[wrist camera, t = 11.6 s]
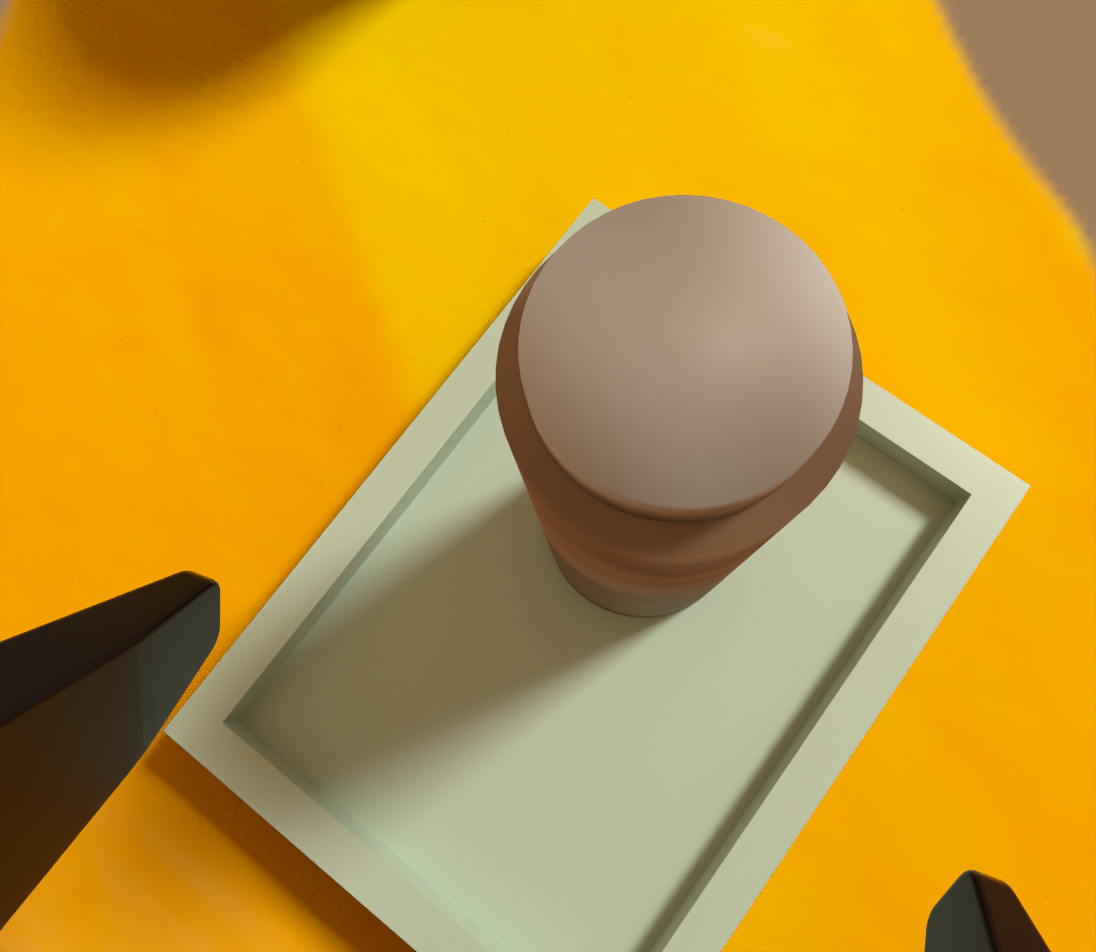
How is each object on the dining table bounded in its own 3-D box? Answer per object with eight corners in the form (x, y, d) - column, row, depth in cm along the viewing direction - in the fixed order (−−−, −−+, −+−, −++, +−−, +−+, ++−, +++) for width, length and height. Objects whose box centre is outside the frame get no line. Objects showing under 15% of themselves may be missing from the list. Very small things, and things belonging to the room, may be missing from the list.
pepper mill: (619, 656, 22) (637, 625, 10) (510, 499, 23) (411, 303, 11) (777, 545, 22) (973, 388, 10) (662, 395, 23) (722, 99, 11)
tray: (607, 1076, 21) (609, 1119, 19) (199, 726, 23) (163, 730, 21) (993, 501, 23) (1030, 486, 21) (592, 235, 25) (593, 198, 23)
